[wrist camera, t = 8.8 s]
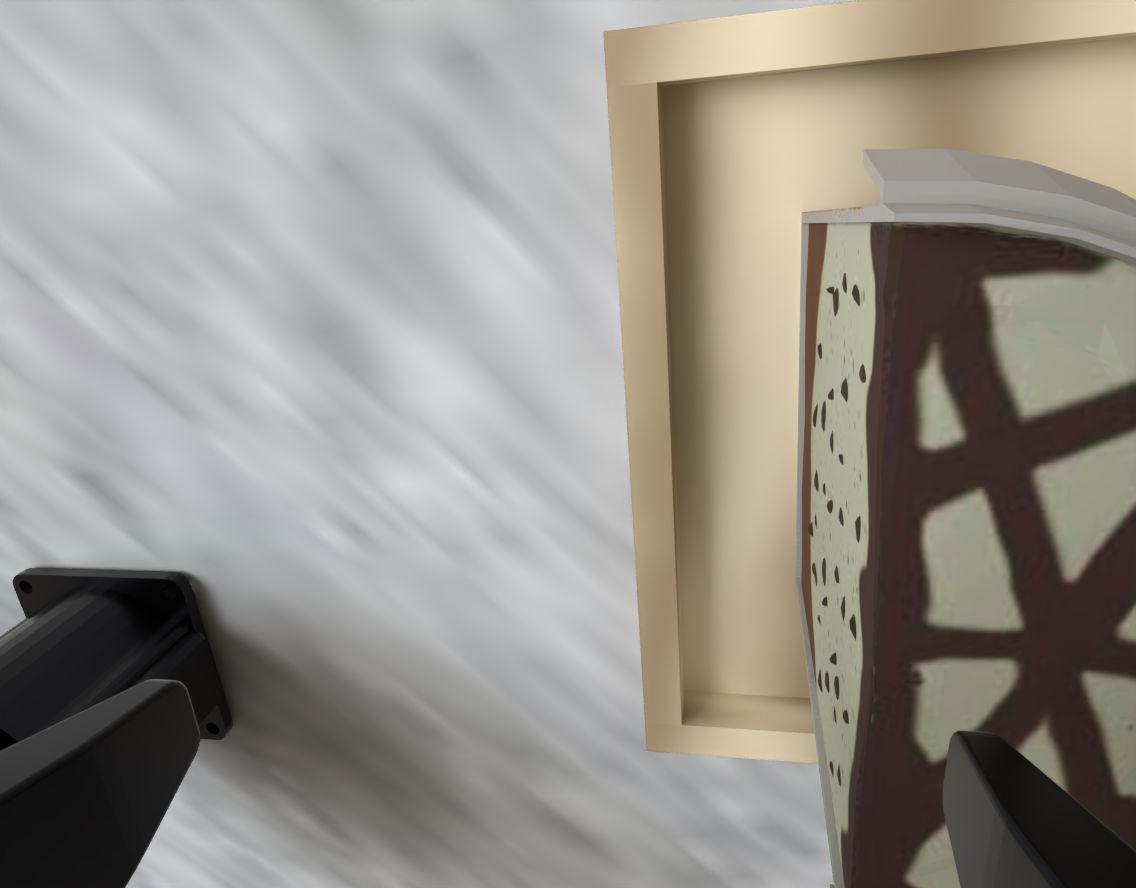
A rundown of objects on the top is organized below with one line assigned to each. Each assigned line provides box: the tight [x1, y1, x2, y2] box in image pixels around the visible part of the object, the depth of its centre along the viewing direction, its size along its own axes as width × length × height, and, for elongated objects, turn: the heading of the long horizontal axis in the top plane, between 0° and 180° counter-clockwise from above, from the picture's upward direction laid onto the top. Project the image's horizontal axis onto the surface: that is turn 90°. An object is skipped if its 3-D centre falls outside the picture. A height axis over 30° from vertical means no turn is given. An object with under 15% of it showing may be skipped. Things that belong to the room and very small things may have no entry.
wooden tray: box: [604, 0, 1136, 764], centre depth 18 cm, size 12×18×2 cm, turn 5°
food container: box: [795, 148, 1136, 888], centre depth 13 cm, size 12×6×10 cm, turn 5°
